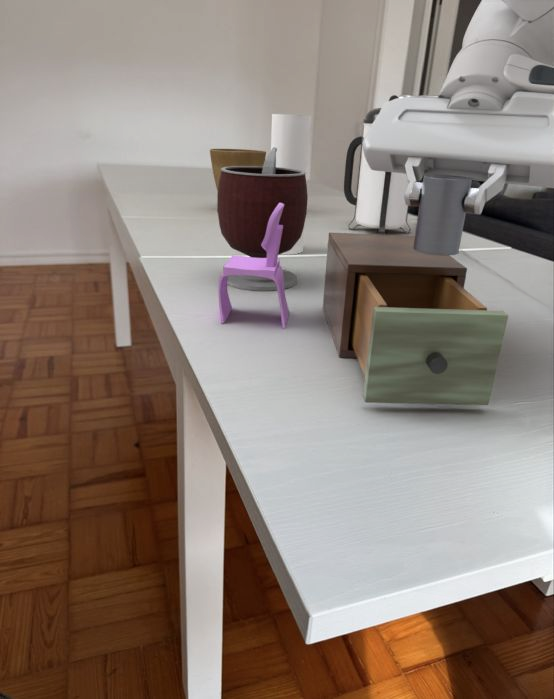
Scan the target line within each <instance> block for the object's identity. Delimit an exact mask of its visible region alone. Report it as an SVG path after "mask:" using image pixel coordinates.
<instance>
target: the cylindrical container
mask: <svg viewBox="0 0 554 699" xmlns="http://www.w3.org/2000/svg"><path fill="white" fill-rule="evenodd" d="M311 124H312V115H308V114H307V115H306V114H303V115H302V114H285V113H284V114H283V113H271V131H270V132H271V133H270V134H271V135H270V151H271V150H272V148H273V147H276V148H277V152H276V167H279V168H289V169H296V170H302V171H305V172H306V174H305V177H306V183H307V184H308V172H309V157H310V156H309V155H310V140H311ZM304 235H305V227H304V228H303V232H302V235H301V238H300V239H299V240H298V241H297V243H296V244H295V245H294V246H293V248H292V249H291V250H289V251H287V252H284V253H282V254H281V255H287V256H288V255H289V256H291V255H299V254H302V253H303V252H302V251H304V239H305V238H304V237H305V236H304ZM301 252H302V253H301ZM298 253H299V254H298Z"/></svg>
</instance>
